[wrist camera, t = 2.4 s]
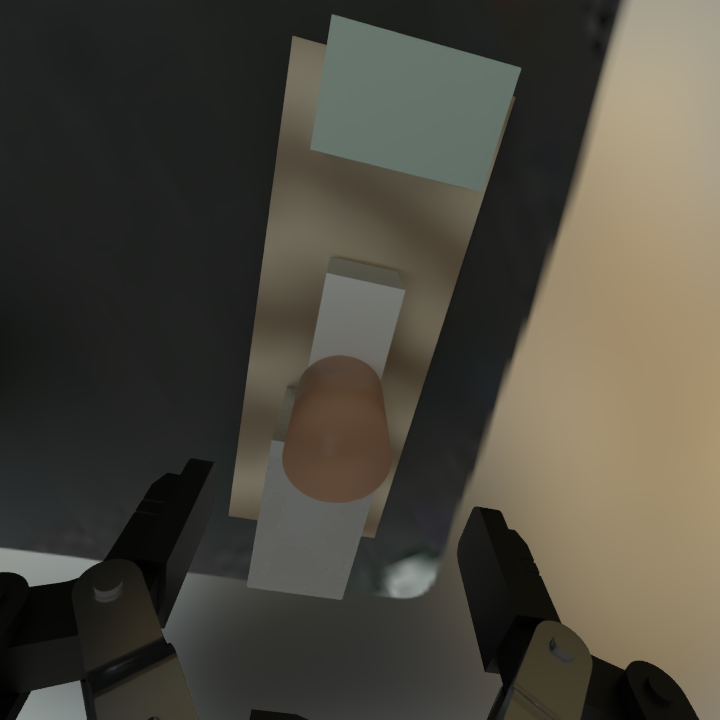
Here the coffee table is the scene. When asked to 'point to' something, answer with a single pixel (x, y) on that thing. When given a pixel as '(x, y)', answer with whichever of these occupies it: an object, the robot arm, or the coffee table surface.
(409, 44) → the sage socket
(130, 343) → the coffee table surface
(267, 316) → the oak base
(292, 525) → the aluminium sleeve
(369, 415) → the tube
